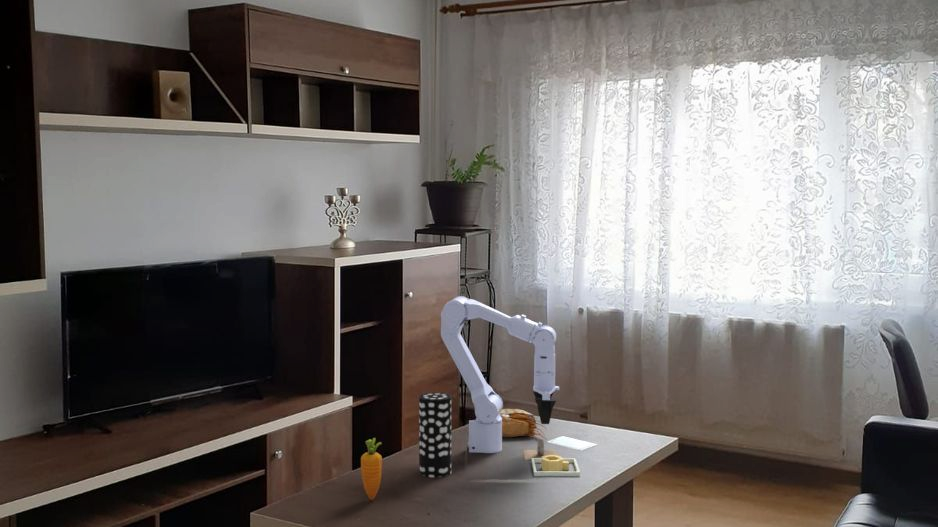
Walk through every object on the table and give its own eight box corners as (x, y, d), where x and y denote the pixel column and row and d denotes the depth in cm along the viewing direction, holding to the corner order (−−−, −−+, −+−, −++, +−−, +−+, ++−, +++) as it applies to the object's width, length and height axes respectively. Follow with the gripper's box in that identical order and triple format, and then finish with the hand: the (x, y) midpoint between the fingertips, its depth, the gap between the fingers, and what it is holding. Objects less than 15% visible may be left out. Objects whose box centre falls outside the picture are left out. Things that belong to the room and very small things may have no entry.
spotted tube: (447, 478, 235) (447, 400, 233) (415, 476, 237) (415, 399, 235) (454, 468, 243) (454, 393, 241) (423, 466, 245) (423, 391, 243)
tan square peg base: (524, 462, 248) (524, 443, 248) (523, 452, 257) (523, 434, 257) (558, 462, 248) (558, 443, 248) (555, 452, 257) (555, 434, 257)
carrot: (371, 495, 223) (371, 434, 221) (386, 499, 220) (386, 437, 218) (356, 500, 219) (356, 438, 217) (371, 505, 216) (371, 442, 214)
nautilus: (560, 442, 270) (525, 455, 259) (506, 423, 285) (471, 435, 274) (561, 416, 268) (525, 428, 258) (507, 398, 283) (471, 409, 273)
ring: (569, 472, 238) (569, 461, 238) (542, 472, 238) (542, 461, 238) (567, 466, 243) (567, 455, 243) (541, 466, 243) (541, 455, 243)
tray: (534, 478, 235) (534, 471, 235) (531, 464, 247) (531, 458, 246) (580, 479, 235) (580, 472, 235) (575, 464, 246) (575, 458, 246)
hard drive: (546, 441, 265) (582, 449, 256) (563, 435, 271) (598, 443, 262) (546, 447, 265) (582, 455, 256) (563, 441, 271) (598, 449, 262)
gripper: (561, 376, 245) (561, 427, 246) (557, 365, 260) (556, 413, 261) (534, 376, 245) (534, 427, 246) (531, 365, 260) (531, 413, 261)
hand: (544, 420), depth 254 cm, fingers open, 7 cm apart
